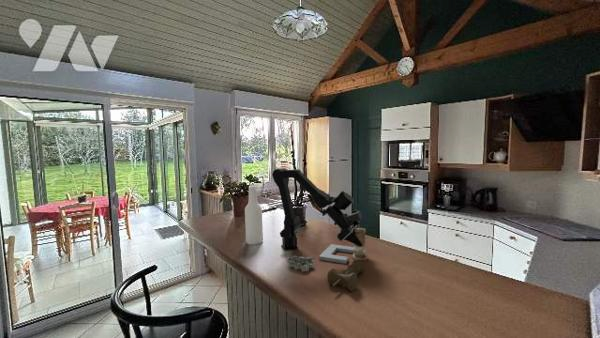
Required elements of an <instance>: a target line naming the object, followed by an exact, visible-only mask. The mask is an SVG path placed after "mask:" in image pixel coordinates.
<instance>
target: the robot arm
mask: <svg viewBox="0 0 600 338" xmlns="http://www.w3.org/2000/svg"><path fill="white" fill-rule="evenodd" d="M271 176H272V178H273V181H274V184H275V185H276V186H277V188H278V192H279V196H280V200H281V204H282V208H283V213H284V220H283V229H282V230H280V232H279V235H280V238H282V239H281V241H282V243H281V245H280V246H281V248H283V250H285V251H289V250H294V249H298V237H297V233H298V231H299V230H300V228H301V225H302V222H301V217H300V216H297V214H296V213H295V211H294V206H293V202H292V201H293V200H292V197H291V192H290V188H289V187H290V186H289V181H290V179H294V180H295V181H296V182H297V183H298V184H299V185H300V187H302V188H303V189H304V190H305V191H306V192H307V193H308V194H309V195H310V197H311V199H312V201H313V203H314V204H315V205H316V207H318V208H319V209H322V213H321V214H322V217H324V216H326V215H328V217H329V218H330V219H331V220H332V221H333V225H334V226H337V227H338V228H339V229H340V231H339V232H338V234H337V240H338V241H340V242H342V241H343V240H344V241H346V242H350V243H351V244H353V245H354V244H356V245H358V246H360V247H361V246H362V243H361V242H360V240H359V239H358V238H357V236H356V235H355V228H360V226H361V225H360V223H361V220H362V219H363V217H362V212H360V210H358V209H354V210H352V213H350V214H348V213H344V212H343V211H346V210H347V209H348V208H349V207H350V206H351V205H352V204H353V203H354V202H355V200H354V198H353V196H352V195H350V194H349V193H347V192H345V191H344V190H342V191H340V193H339V194H338V195H337V196H336V197H335V196H331V195H330V194H328V193H327V192H326V191H324V190H322V189H320V188H318V187H317V186H316V185H315V184H314V183H313V182H312V181H311V180H310V179H309V178H308V177H307V175H305V174H303V172H302V171H301V170H300V169H299V168H297V169H296V168H295V169H287V168H285V167H282V168H275V169H274V170H273V172H272V174H271Z"/></svg>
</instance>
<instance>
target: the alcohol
mask: <svg viewBox="0 0 600 338" xmlns="http://www.w3.org/2000/svg"><path fill="white" fill-rule="evenodd" d="M244 221H245V224H244V225H245V243H246V244H247V245H249V246H257V245H260V244H262V243H263V241H264V232H263V231H264V230H263V229H264V228H263V210H262V206H261V204H260V203H259V201H258V194H257V186H256V185H249V186H248V203H247V204H246V206H245V207H244Z"/></svg>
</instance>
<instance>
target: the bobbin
mask: <svg viewBox="0 0 600 338" xmlns="http://www.w3.org/2000/svg"><path fill="white" fill-rule="evenodd" d="M366 232H367V230H366V228H364V227H359V228H355V235H356V236H357V238H358V239H359V240H360V242H361V243H362V246H361V247H360V246H358V245H356V244H354V243H353V247H354V253H352V260H353V261H355V260H359V261H361V262H366V261H368V255H367V253H366V251H367V250H366V247H367V246H366Z"/></svg>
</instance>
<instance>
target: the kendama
mask: <svg viewBox="0 0 600 338" xmlns="http://www.w3.org/2000/svg"><path fill="white" fill-rule="evenodd" d="M364 271H365V265H364V263H363V261H359V260H353V261H352V263H351V264H349V265H348V267H347V270H346V272H345V273H341V272H340V271H338V270H337V269H336V268H334V267H333V268H330V269H329V270H328V273H327V278H326V280H327V283H328V284H329V285H332V287H335V286H337V285H343V286H345V287H346V288H347V289H348V290H349V291H350V292H354V291H355V290H356V288H357V286H358V275H359V274H362V273H364Z"/></svg>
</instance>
